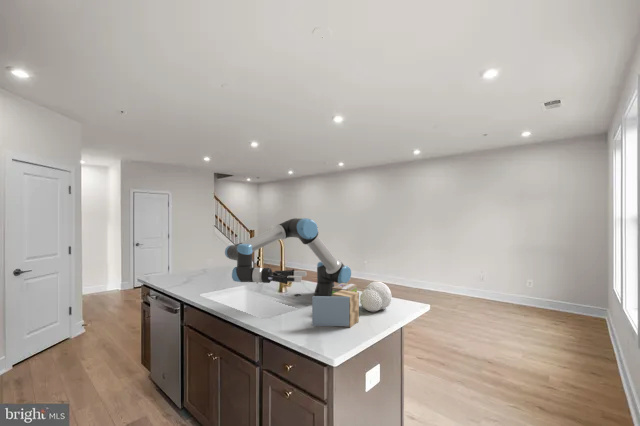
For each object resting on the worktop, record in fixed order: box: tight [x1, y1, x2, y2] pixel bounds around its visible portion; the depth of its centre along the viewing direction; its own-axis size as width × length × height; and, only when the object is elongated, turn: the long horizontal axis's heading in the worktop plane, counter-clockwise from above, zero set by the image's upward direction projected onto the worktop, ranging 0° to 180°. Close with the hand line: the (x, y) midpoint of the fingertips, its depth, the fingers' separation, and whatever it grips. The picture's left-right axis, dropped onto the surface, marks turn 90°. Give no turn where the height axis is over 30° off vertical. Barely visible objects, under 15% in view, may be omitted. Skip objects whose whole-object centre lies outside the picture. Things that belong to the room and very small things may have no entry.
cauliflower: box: [359, 281, 393, 313], centre depth 176 cm, size 20×18×16 cm
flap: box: [311, 295, 349, 327], centre depth 147 cm, size 1×18×14 cm, turn 89°
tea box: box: [332, 282, 358, 294], centre depth 172 cm, size 15×10×15 cm, turn 153°
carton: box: [332, 290, 360, 328], centre depth 154 cm, size 10×10×15 cm
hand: (303, 276), depth 151 cm, fingers open, 13 cm apart
